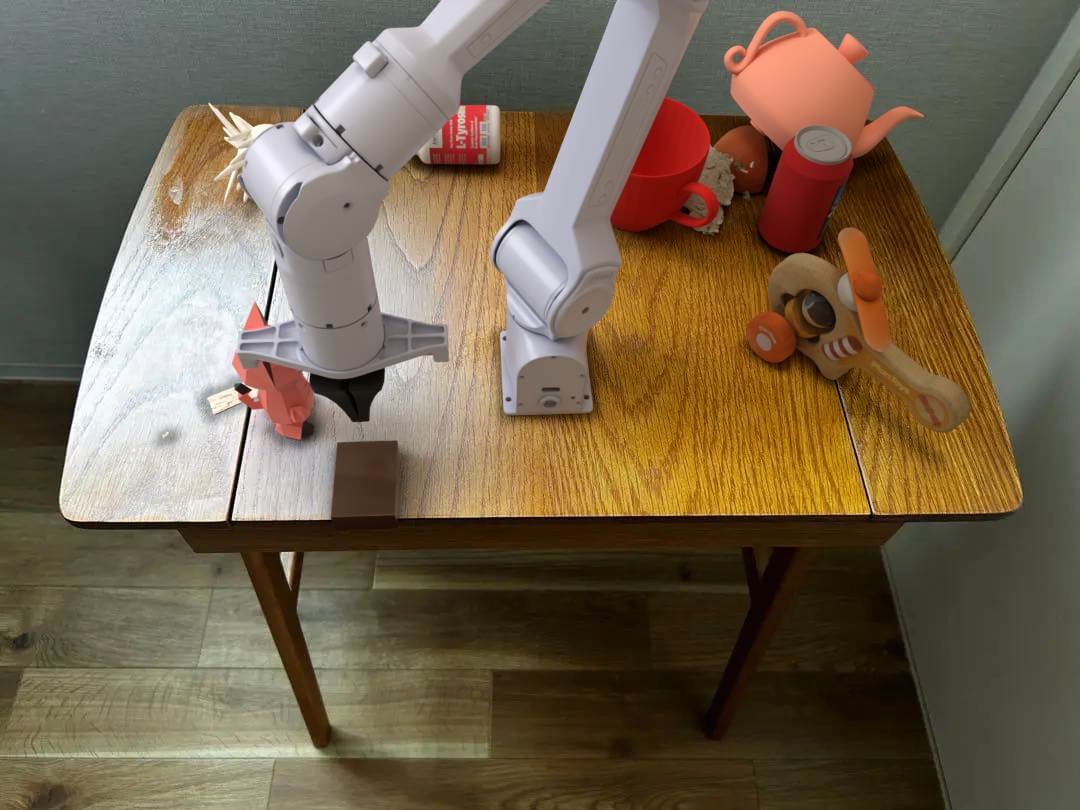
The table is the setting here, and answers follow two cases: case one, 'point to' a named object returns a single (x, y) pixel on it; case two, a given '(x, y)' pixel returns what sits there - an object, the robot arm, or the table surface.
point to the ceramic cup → (667, 172)
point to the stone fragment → (715, 189)
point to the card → (226, 400)
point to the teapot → (807, 86)
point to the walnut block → (366, 485)
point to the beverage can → (806, 188)
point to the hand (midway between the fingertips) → (361, 411)
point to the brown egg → (745, 157)
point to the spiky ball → (237, 145)
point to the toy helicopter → (849, 330)
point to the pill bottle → (466, 138)
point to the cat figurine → (276, 389)
